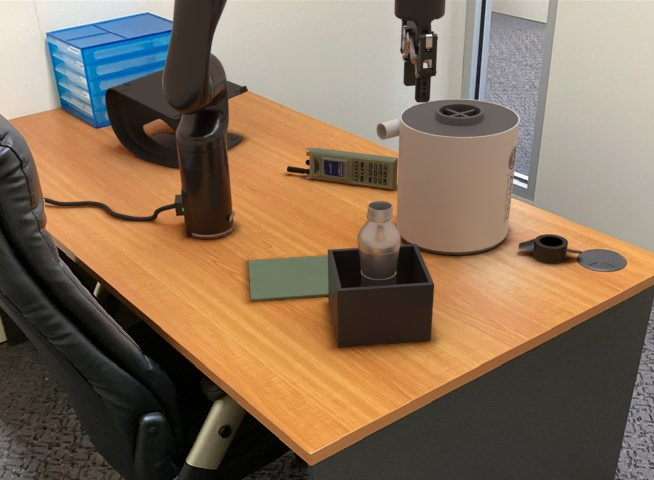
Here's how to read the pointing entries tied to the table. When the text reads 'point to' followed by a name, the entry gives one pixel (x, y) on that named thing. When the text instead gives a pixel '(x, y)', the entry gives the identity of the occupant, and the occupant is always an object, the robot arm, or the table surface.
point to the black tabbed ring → (548, 248)
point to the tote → (380, 300)
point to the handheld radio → (350, 168)
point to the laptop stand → (150, 118)
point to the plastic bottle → (378, 246)
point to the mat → (288, 278)
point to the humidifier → (454, 173)
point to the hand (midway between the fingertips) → (416, 93)
